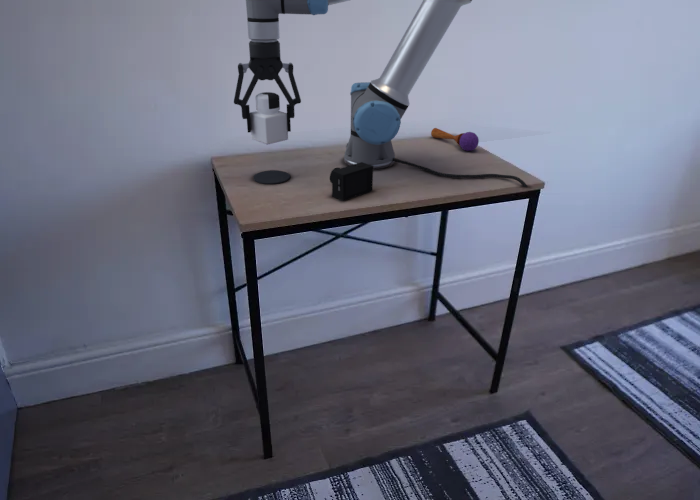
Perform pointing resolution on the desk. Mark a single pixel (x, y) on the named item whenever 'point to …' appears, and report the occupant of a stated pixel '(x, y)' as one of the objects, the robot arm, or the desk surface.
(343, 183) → the digital camera
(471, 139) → the maraca
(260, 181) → the coaster
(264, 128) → the medicine bottle
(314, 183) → the desk surface
